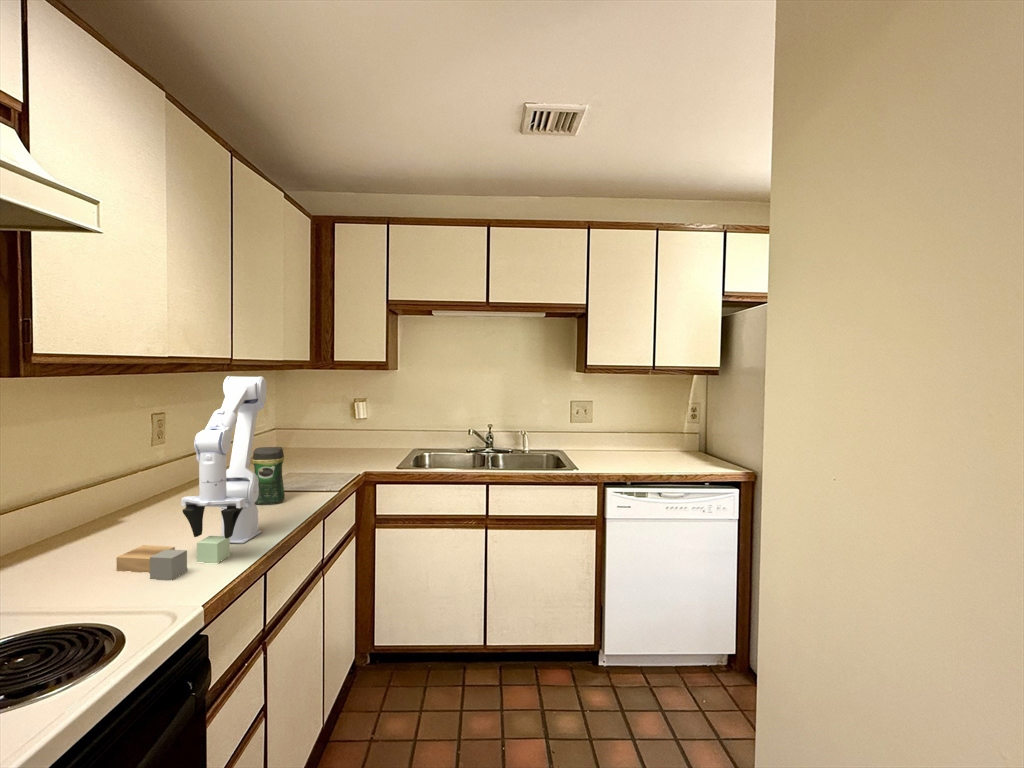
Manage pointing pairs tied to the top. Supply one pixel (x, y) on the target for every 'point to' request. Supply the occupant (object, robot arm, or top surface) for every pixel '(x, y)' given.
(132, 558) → the walnut base
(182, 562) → the charcoal cube
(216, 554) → the sage cube
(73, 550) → the top surface
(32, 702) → the top surface
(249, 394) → the robot arm
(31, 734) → the top surface
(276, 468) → the coffee jar
